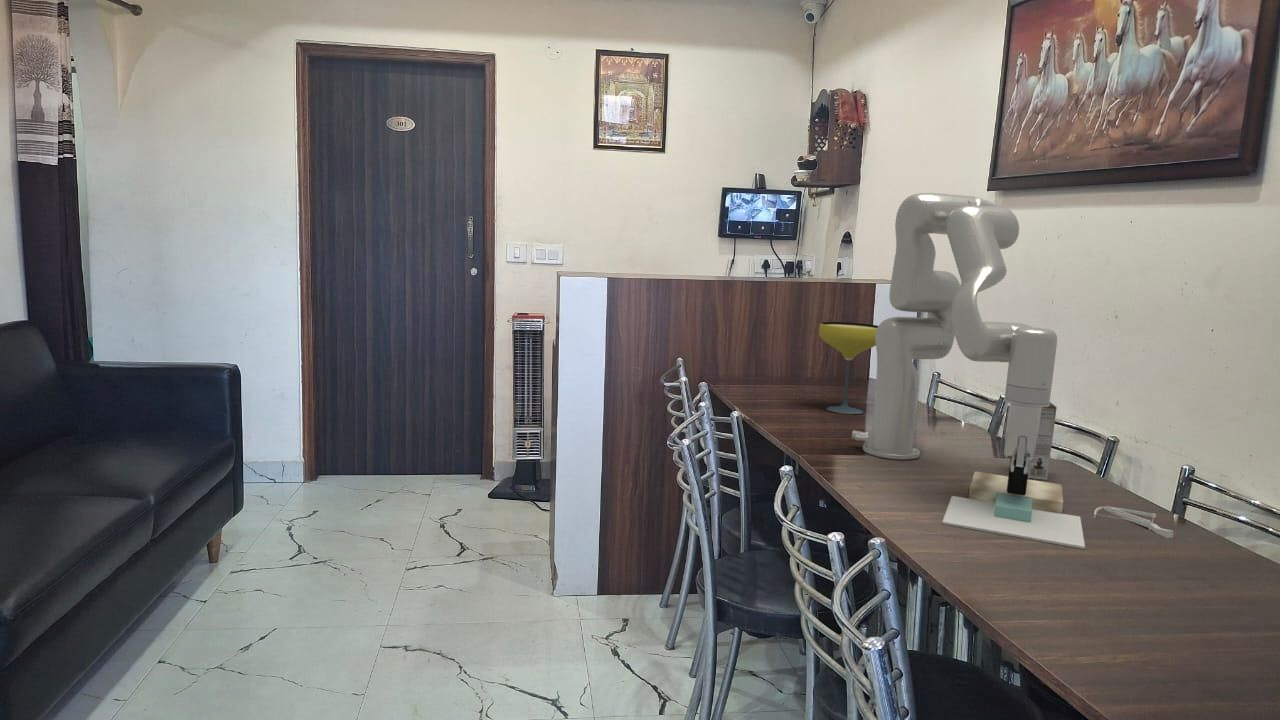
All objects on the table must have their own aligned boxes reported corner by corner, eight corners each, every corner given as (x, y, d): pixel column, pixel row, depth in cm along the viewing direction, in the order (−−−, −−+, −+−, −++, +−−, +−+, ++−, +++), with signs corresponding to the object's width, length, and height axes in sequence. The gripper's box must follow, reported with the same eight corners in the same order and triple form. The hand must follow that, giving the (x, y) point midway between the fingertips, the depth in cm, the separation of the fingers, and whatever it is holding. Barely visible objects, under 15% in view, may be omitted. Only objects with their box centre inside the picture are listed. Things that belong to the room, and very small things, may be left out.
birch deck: (968, 500, 162) (969, 487, 162) (973, 483, 175) (974, 471, 174) (1061, 515, 155) (1063, 502, 155) (1059, 496, 168) (1061, 484, 168)
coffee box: (1007, 466, 190) (1015, 396, 188) (1038, 469, 189) (1046, 398, 186) (1016, 477, 181) (1025, 403, 179) (1049, 480, 180) (1058, 406, 177)
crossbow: (1073, 514, 161) (1074, 504, 160) (1132, 514, 163) (1133, 504, 163) (1137, 539, 145) (1138, 527, 145) (1201, 538, 147) (1202, 527, 147)
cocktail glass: (837, 418, 234) (845, 328, 230) (800, 405, 250) (806, 321, 247) (890, 416, 241) (898, 329, 237) (850, 404, 257) (857, 321, 254)
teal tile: (993, 516, 151) (995, 505, 151) (995, 503, 160) (997, 493, 159) (1030, 522, 149) (1031, 511, 149) (1030, 509, 157) (1032, 498, 157)
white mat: (942, 523, 147) (942, 521, 147) (951, 497, 163) (951, 495, 163) (1084, 549, 138) (1085, 546, 138) (1079, 518, 154) (1080, 516, 154)
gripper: (1006, 387, 163) (995, 480, 165) (1003, 399, 149) (992, 500, 152) (1049, 392, 160) (1038, 487, 162) (1051, 404, 146) (1038, 507, 149)
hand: (1016, 493), depth 157 cm, fingers closed
